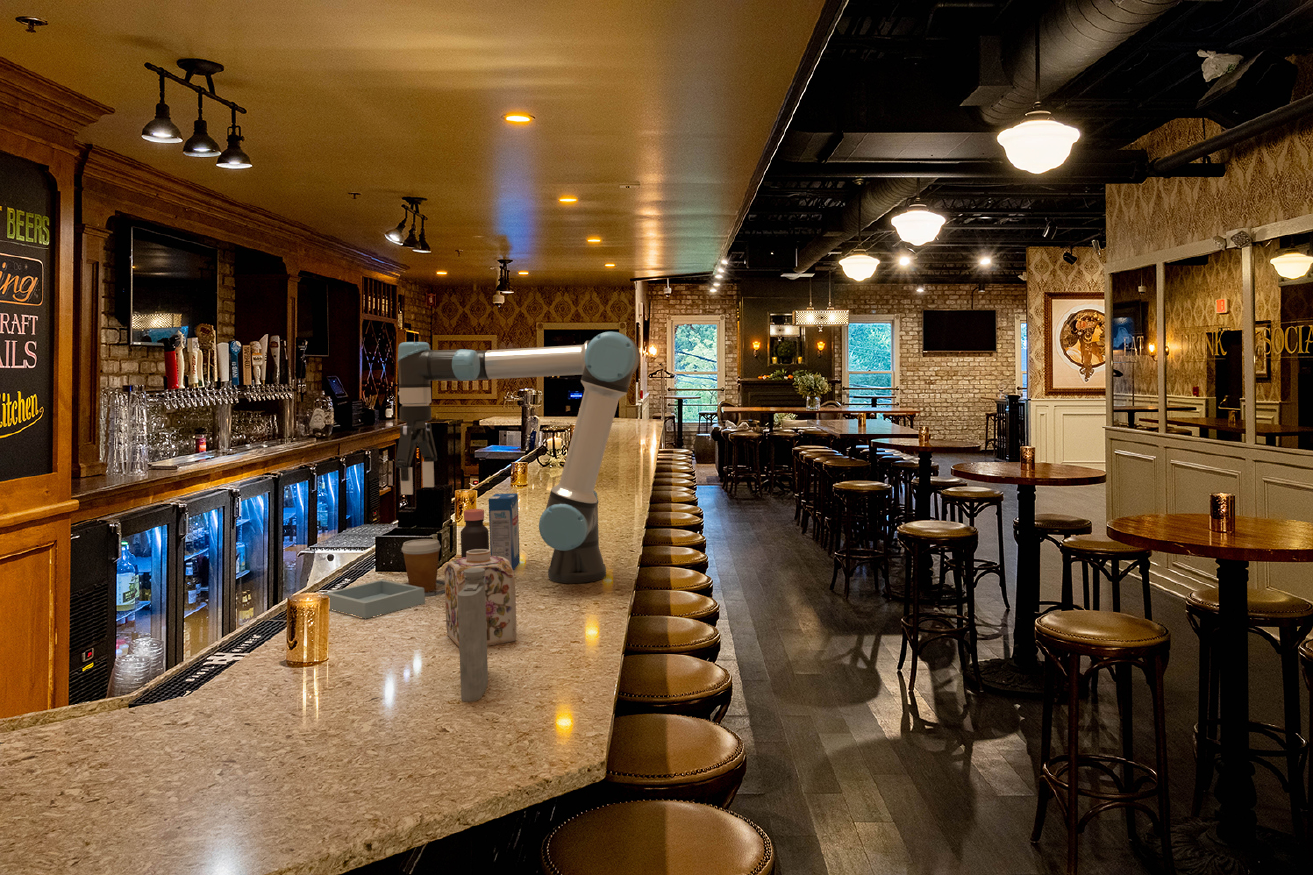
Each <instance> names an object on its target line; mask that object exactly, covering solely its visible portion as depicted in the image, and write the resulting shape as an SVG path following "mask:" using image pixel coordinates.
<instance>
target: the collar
mask: <svg viewBox="0 0 1313 875" xmlns="http://www.w3.org/2000/svg"><path fill="white" fill-rule="evenodd" d="M402 583H403V584H407V585H409V582H408V581H405V582H402ZM437 584H438V585H444V586H445V579H437V581H436V585H437ZM424 593H425V597H433V596H434V597H435V596H438V595H442V594H445V587H444V588H442V589H436V590H433V591H430V592H424Z"/></svg>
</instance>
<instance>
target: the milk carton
mask: <svg viewBox="0 0 1313 875" xmlns="http://www.w3.org/2000/svg"><path fill="white" fill-rule="evenodd" d="M488 525H489V529H488V530H489V551H490V556H499V557H504V558H506V559H507V560H509V562H510V564H511V567H512V569H513V572H515V570H516V568H517V567H518V566H519V565H520V563H521V561H520V560H521V558H520V556H521V554H520V552H521V551H520V533H519V532H520V528H519V495H518V493H514V492H513V493H495V494H493V495H492V496H490V497H489V498H488Z"/></svg>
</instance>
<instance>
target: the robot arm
mask: <svg viewBox="0 0 1313 875" xmlns="http://www.w3.org/2000/svg"><path fill="white" fill-rule="evenodd" d="M397 352H398V353H397V361H396V362H397V368H398V390H399V391H398V392H397V396H399V398H398V399H399V403H400V404H401V405H400V407H399V420H400V421H401V422H405V423H406V424H405V425H401V426H400V427H399V438H398V443H397V444H398V445H397V450H396V457H395V462H394V463H395V468H399V475H400V476H399V477H400V481H399V482H400V495H414V486H413V485H414V484H413V483H414V481H413V466H412V467H411V464H412V462H413V458H414V453H415V450H416V447H417V446H418V449H419V451H420V454H421V457H422V459H423V461H421V462H422V463H421V467H422V468H421V470H422V488H434V487H435V469H434V468H435V467H434V465H435V464H434V462H437V461H438V453H437V450H436V445H435V440H434V436H433V432H432V423H431V422H428V421H431V420H432V406H430V404H431V403H432V388H431V381H432V382H433V381H434V382H435V381H446V382H447V381H449V382H450V381H462V382H467V381H470V382H471V381H472V382H473V381H479V380H480V381H483V380H494V379H498V380H499V379H519V378H521V379H522V378H537V377H540V378H541V377H555V376H556V377H557V376H558V377H559V376H575V375H577V376H578V375H579V376H580V375H581V379H580V383H581V384H582V386H583V387H584V392H583V395H582V398H581V402H580V406H579V410H578V414H577V416H576V417H577V418H576V421H575V424H574V427H573V428H574V429H573V432H572V436H571V440H570V442H569V446H568V451H567V454H566V458H565V460H564V465H563V468H562V472H561V476H560V479H559V482H558V484H556V485H555V486H553V487H551V489H550V492H549V496H548V500H547V503H546V508H545V509H544V511H543V512H542V513H541V515H540V518H539V521H538V530H539V531H538V532H539V534H540V537H541V538H542V540H543V542H545V544H546V545H548V546H549V547H550V548H552V549H553V552H552V556H551V559H550V563H549V564H550V566H548V570H547V572H548V573H547V574H548V579H549V580H550V581H552V582H556V583H562V584H582V583H584V584H585V583H591V582H596V581H601V580H602V579H604V578H606V576H607V567H606V564H605V563H604V559H603V557H602V552H601V549H600V546H599V545H600V543H599V542H600V540H599V538H600V537H599V499H598V498H599V497H598V493H597V492H596V490H595V487H596V483H597V480H598V478H599V477H598V476H599V473H600V469H601V466H602V463H603V460H604V455H605V452H606V451H605V450H606V447H607V443H608V440H609V437H610V433H611V430H612V426H613V423H614V418H615V415H616V411H617V407H618V403H619V400H620V399H621V398H622V397H624V396H626V395H627V394H628V392H629V391H628V390H629V388H630V384H631V380H632V376H633V375H634V373H635V372H636V371H637V369H638V367H639V364H640V360H641V359H640V358H641V357H640V356H641V354H640V350H639V348H638V345H637V344H636V342H635V341H634V340H633V339H631V338H630V336H626V334H623V333H620V332H618V331H605V332H602V333H599V334H597V335H596V336H594V337H593V338H592V339H591V340H586V341H585V342H584V344H576V345H573V344H572V345H558V346H541V347H540V346H539V347H526V348H525V347H523V348H520V347H519V348H508V349H507V348H504V349H491V350H490V349H489V350H488V349H487V350H474V349H465V348H464V349H463V348H462V349H461V348H460V349H441V350H439V349H431V348H430V344H429V343H428V342H425V341H406V342H405V341H404V342H401V343H399V344H398V348H397Z"/></svg>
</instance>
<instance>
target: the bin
mask: <svg viewBox="0 0 1313 875" xmlns="http://www.w3.org/2000/svg"><path fill="white" fill-rule="evenodd" d="M403 583H404V582H396V581H391V580H387V579H384V578H383V579H378V580H374V581H370V582H366V583H362V584H359V585H358V584H357V585H353V586H350V587H345V588H344V587H343V588H341V589H336V590H332V591H327V592H324V593H323V596H324V595H328V596H329V598H330V610H329V611H331V612H333V611H332V609H333V610H336V611H340V612H344V613H347V614H353V615H356V616H359V617H362V618H365V619H364V620H367V619H366V618H369V619H371V618H370V617H373V616H376V617H378V616H377V615H380V614H384V615H388V614H390V612H391V613H394V612H398V611H401V610H400V609H402V610H404V609H403V608H405V609H408V608H407V607H409V608H412V607H413V608H414V607H417V606H420V605H422V604H423V605H424V604H425V603H426V602H425V601H426V598H425V597H426V596H425V593H424V588H422V587H417V586H412V585H407V584H403ZM397 610H398V611H397ZM393 611H394V612H393ZM380 616H381V615H380ZM362 618H361V619H362ZM373 618H374V617H373Z"/></svg>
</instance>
